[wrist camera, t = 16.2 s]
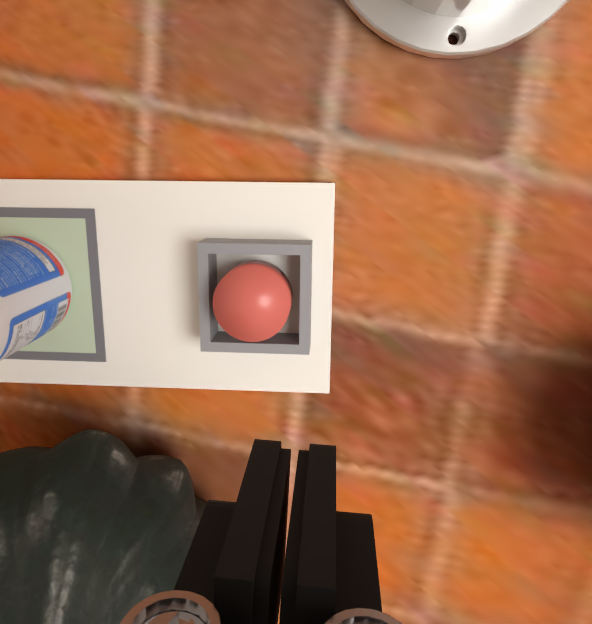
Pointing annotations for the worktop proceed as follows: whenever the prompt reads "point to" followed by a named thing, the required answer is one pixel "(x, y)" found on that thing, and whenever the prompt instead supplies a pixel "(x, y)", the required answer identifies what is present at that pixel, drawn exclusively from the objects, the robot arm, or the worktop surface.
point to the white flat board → (175, 281)
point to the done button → (253, 301)
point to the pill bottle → (30, 292)
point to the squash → (90, 529)
